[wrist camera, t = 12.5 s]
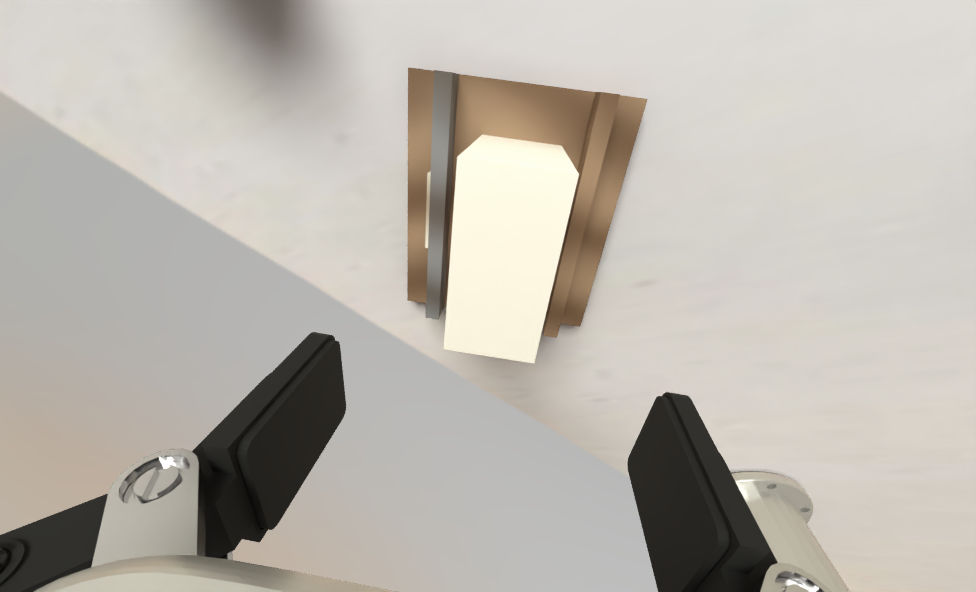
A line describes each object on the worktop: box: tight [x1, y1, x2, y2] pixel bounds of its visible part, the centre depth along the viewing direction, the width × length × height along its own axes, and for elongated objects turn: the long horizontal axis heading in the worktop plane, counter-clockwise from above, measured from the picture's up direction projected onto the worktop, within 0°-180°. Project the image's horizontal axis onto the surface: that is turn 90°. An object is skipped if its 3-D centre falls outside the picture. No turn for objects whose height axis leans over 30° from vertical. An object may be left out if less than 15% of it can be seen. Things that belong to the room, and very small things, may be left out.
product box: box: [444, 135, 579, 363], centre depth 21 cm, size 5×10×9 cm, turn 173°
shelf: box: [408, 68, 647, 337], centre depth 25 cm, size 16×14×4 cm
